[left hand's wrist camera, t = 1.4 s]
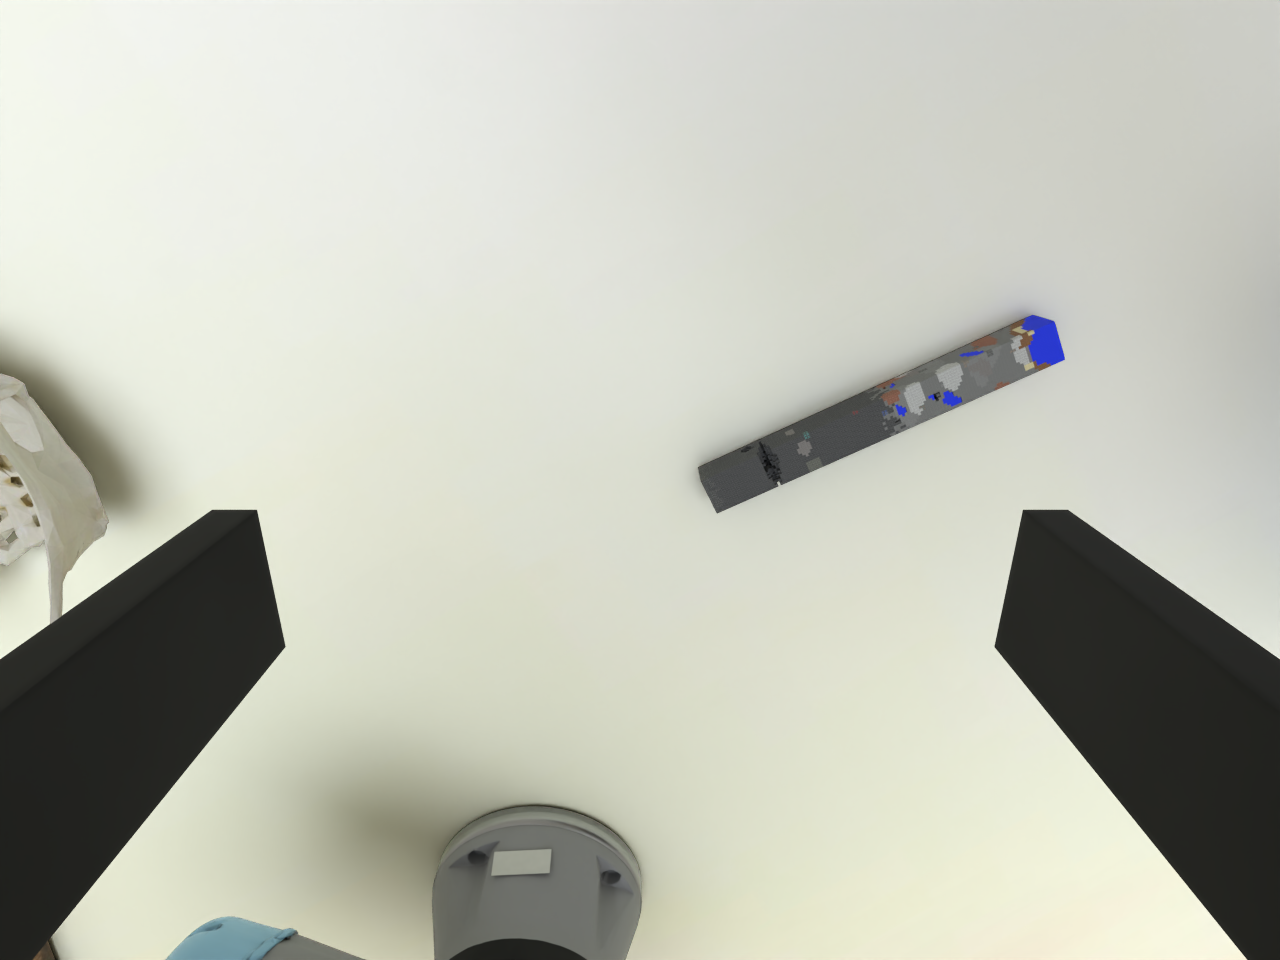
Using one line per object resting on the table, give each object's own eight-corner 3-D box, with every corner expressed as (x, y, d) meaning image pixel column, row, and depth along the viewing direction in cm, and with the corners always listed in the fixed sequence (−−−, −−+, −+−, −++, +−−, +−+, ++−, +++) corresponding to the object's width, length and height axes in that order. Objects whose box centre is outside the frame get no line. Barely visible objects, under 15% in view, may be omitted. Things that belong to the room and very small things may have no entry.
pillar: (701, 481, 39) (1060, 318, 36) (698, 467, 41) (1038, 312, 38) (717, 513, 40) (1071, 356, 37) (713, 498, 42) (1049, 348, 39)
